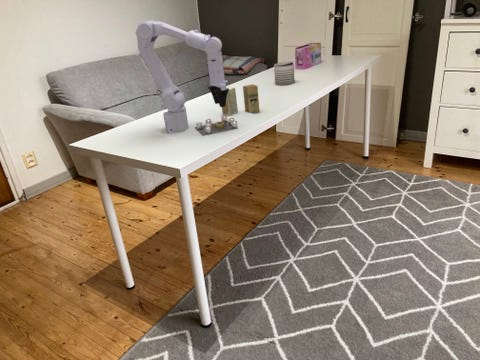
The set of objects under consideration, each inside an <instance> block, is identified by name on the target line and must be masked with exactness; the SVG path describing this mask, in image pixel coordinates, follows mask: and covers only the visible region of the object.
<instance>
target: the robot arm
mask: <svg viewBox="0 0 480 360" xmlns="http://www.w3.org/2000/svg"><path fill="white" fill-rule="evenodd" d="M135 35H136V39H137V49H138V51H139V53H140V55H141V56H142V59H143V61H144V62H145V63H146V65H147V67H148V69H149V70H150V72H151V74H152V76H153V78H154V80H155V81H156V83H157V84H158V86H159V88H160V89H161V92H162V93H161V96H162V98H163V101H164V106H165V108H166V110H167V111H165V112H163V114H162V115H163V120H164V127H165V130H166V132H167V133H168V134H173V133H179V132H185V131H187V130H189V129H190V127H189V122H188V121H189V120H188V116H187V109H186V106H185V104H186V101H187V99H186V95H185V94H184V92H183V91H181V90H180V89H179V87H178V86H176V85H175V84H174V83H173V81H172V79H171V77H170V76H169V74H168V71H167V69H165V67H164V65H163V63H162V61H161V60H160V58H159V56H158V53H156V50H155V49H154V46H155V43H156V40H157V39H158V37H160V36H163V35H165V36H169V37H172V38H174V39H178V40H182V41H184V42H185V43H186V45H187V46H189V47H190V48H194V49H197V50H200V51H204V52H205V53H206V56H207V68H208V74H209V75H208V76H209V85H210V86H208V87H207V88H208V90H209V91H210V93H211V96H212V99H213V101H214V103H215V105H219V107H220V108H222V107H225V106H226V98H227V94H228V92H229V89H228V88H227V84H226V83H229V81H228V80H227V79H225V72H224V62H223V61H224V60H223V54H222V48H223V43H222V41H221V39H220V38H218V37H217V36H212V37H211V35H210V34H204V33H202V32H199V30H198V29H194V30H193V29H191V30H190V31H185V30H183V29H180V28H178V27H175V26H173V25H170V24H168V23H166V22H163V21H158V20H156V19H150V20H149V19H148V20H146V21H140V22H139V23H138V25H137V28H136V30H135Z"/></svg>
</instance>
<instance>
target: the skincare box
mask: <svg viewBox="0 0 480 360" xmlns="http://www.w3.org/2000/svg"><path fill="white" fill-rule="evenodd" d="M226 88H228V89H229V92H228V94H227V98H226V106H225V107H221V111H222V116H227V117H231V116H233V115H236V114H238V113H239V109H238V101H237V92H236V87H231V86H226Z"/></svg>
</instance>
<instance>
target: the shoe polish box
mask: <svg viewBox="0 0 480 360" xmlns="http://www.w3.org/2000/svg"><path fill="white" fill-rule="evenodd" d="M242 91H243V102H244V112H246V113H249V114H253V115H254V114H259V113H260V102H259V88H258V85H256V84H248V85H243V86H242Z"/></svg>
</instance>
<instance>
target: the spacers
mask: <svg viewBox="0 0 480 360" xmlns="http://www.w3.org/2000/svg"><path fill="white" fill-rule="evenodd" d="M220 119H221V122H222V121H223V122H225V123H227V120H228V121H229V125H230V126H232V129H233V130H237V129H236V128H238V127H239V126H238V121H237V120H235V118H234V117H231V118H228V116H225V115H221V116H220ZM204 121H205V125H206V127H205V132H206V134H210V135H212V134H211V133H212V131H211V130H212V124H213V123H212V119H210V118H207V119H205V120H204ZM195 125H196V127H197V130H202V129H203V122H196V124H195ZM238 129H239V128H238ZM197 130H196V131H197Z"/></svg>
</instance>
